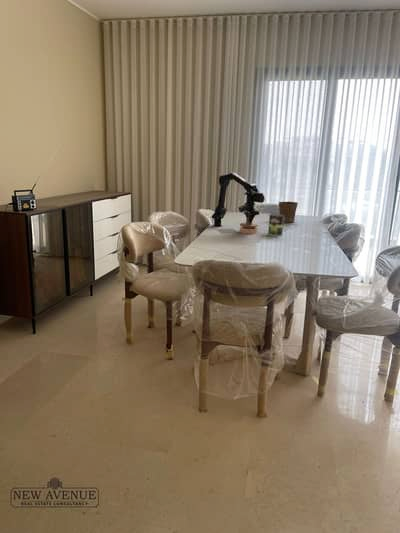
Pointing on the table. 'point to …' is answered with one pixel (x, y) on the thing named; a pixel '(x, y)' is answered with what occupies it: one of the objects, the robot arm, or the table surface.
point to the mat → (227, 230)
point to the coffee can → (276, 224)
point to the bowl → (249, 230)
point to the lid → (248, 223)
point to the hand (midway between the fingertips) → (249, 222)
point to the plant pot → (288, 211)
